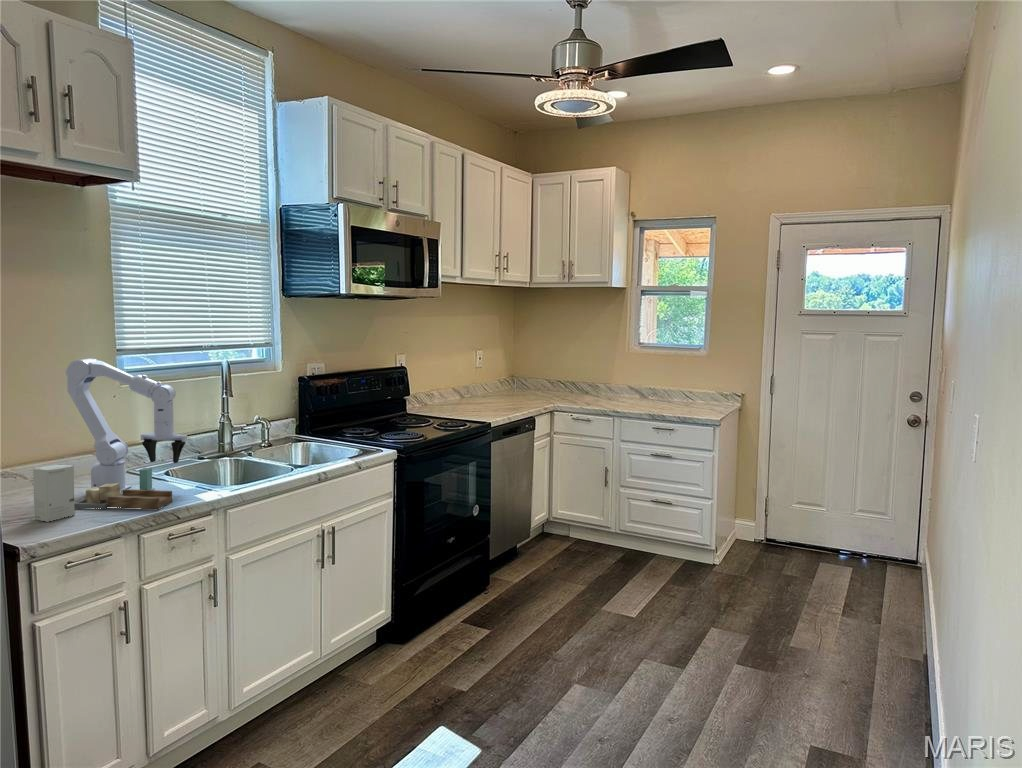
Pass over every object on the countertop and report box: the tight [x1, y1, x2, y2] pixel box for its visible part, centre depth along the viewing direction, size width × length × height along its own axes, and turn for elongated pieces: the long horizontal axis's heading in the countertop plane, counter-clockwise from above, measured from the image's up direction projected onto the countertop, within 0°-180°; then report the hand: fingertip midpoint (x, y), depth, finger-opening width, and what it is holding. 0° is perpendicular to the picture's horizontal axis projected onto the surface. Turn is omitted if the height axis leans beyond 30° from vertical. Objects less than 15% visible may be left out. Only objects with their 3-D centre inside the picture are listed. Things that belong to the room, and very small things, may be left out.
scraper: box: [138, 467, 156, 490], centre depth 221 cm, size 3×5×9 cm, turn 0°
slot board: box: [108, 488, 173, 510], centre depth 211 cm, size 15×9×4 cm, turn 90°
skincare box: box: [32, 463, 76, 523], centre depth 196 cm, size 8×6×15 cm
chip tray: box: [74, 493, 122, 510], centre depth 211 cm, size 10×12×2 cm
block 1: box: [85, 487, 106, 503], centre depth 211 cm, size 4×4×4 cm
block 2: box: [99, 483, 121, 500], centre depth 211 cm, size 4×4×4 cm
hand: (164, 462), depth 229 cm, fingers open, 7 cm apart
